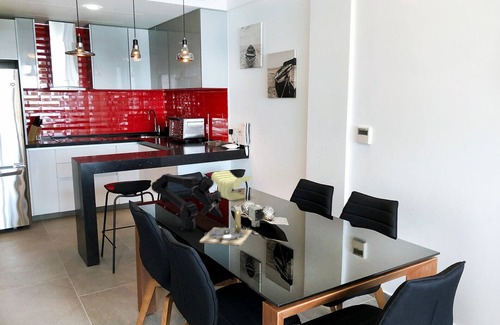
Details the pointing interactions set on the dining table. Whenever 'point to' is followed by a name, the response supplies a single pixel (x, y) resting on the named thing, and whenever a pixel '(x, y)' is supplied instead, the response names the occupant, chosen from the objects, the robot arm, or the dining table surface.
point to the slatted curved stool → (229, 184)
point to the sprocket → (229, 230)
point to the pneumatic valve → (255, 215)
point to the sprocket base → (219, 241)
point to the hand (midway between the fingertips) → (221, 217)
